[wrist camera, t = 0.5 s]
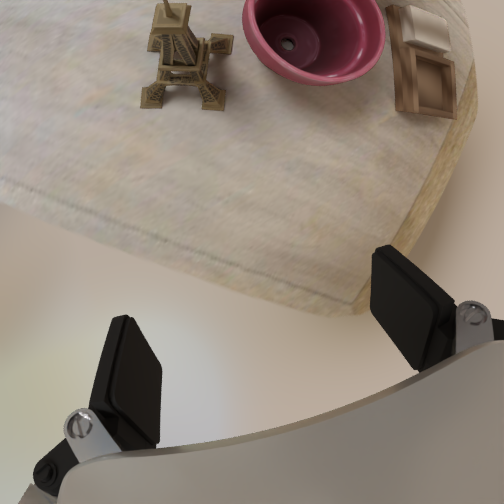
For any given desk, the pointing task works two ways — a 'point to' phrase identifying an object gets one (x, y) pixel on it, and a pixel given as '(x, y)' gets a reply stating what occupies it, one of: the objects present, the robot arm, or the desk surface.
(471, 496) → the robot arm
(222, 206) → the desk surface
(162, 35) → the eiffel tower
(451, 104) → the organizer
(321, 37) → the plant pot
